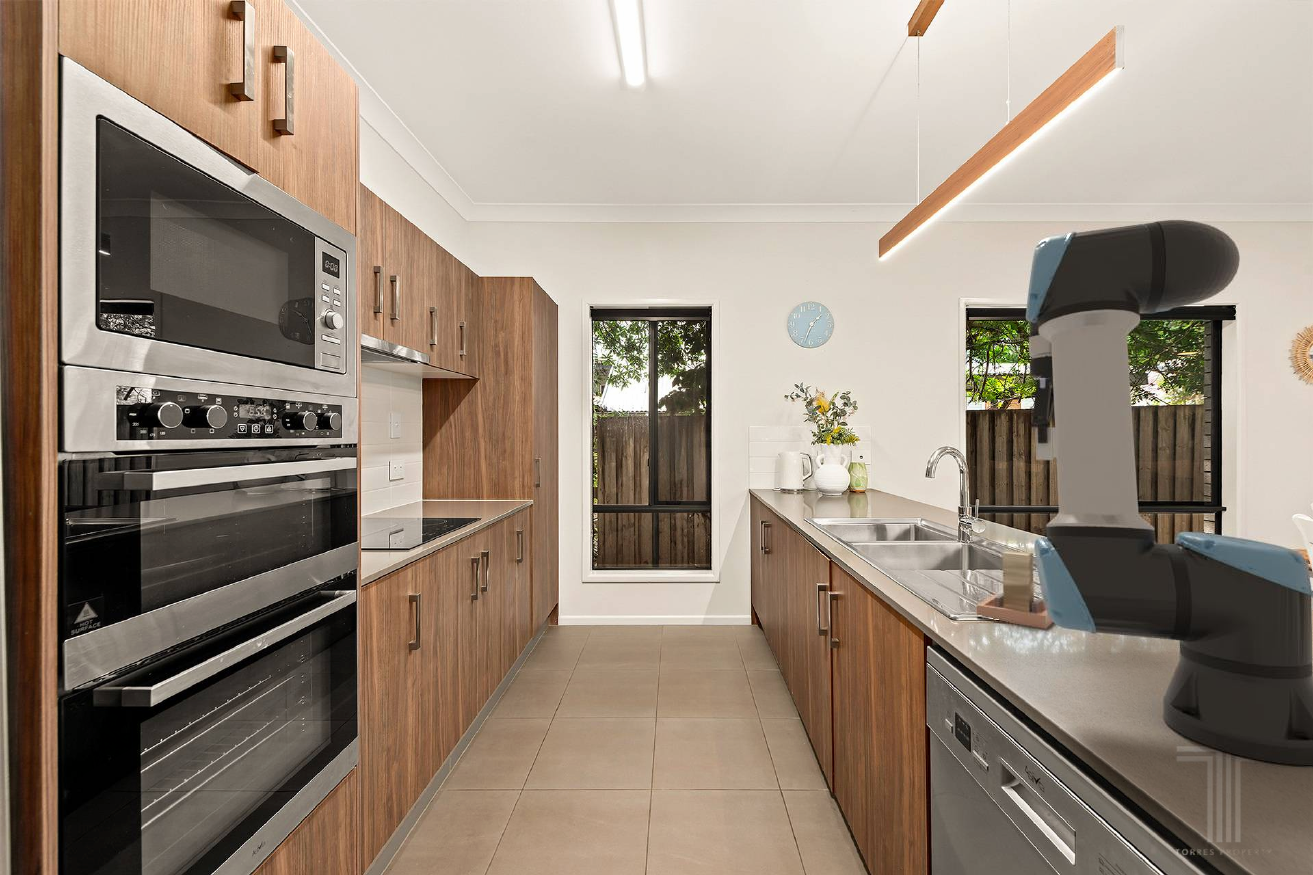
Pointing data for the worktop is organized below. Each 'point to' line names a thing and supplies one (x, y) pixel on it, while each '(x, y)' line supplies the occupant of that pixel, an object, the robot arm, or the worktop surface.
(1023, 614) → the candle dish
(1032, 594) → the tan wooden block
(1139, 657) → the worktop surface
